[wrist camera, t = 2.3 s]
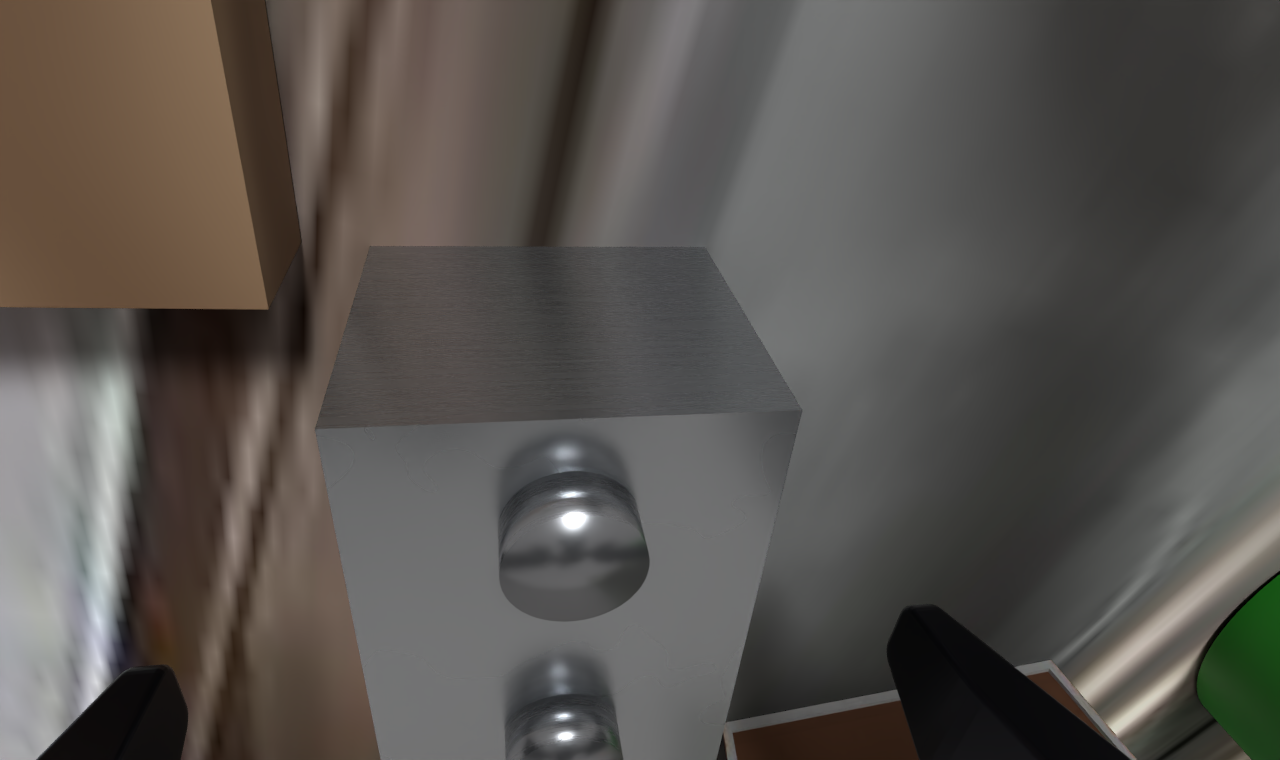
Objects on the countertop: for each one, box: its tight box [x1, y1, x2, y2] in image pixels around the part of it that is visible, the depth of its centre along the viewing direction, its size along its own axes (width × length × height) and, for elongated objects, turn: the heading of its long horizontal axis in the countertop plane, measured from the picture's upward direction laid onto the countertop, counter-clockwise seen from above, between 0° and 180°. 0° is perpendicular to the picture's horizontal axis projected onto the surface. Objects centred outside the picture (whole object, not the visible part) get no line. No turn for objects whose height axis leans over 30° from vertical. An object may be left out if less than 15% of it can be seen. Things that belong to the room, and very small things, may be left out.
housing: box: [315, 246, 802, 760], centre depth 11 cm, size 5×7×5 cm
